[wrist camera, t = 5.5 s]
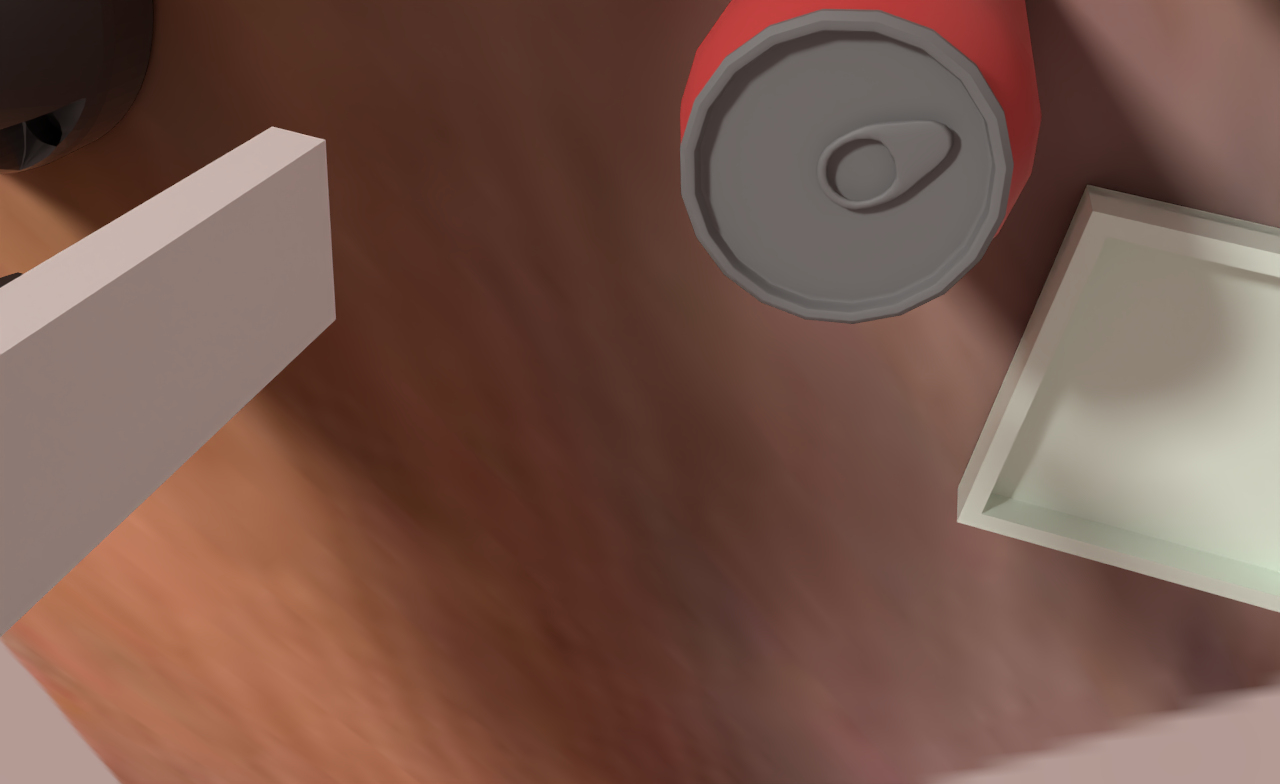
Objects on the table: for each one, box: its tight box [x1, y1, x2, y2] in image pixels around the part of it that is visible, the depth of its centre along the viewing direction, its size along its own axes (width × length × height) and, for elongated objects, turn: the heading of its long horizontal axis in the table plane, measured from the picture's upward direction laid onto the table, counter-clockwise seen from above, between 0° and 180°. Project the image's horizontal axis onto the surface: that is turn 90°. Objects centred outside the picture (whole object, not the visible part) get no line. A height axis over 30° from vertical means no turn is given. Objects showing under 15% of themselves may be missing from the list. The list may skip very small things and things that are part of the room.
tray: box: [957, 185, 1280, 612], centre depth 29 cm, size 11×11×2 cm
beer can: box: [680, 0, 1042, 324], centre depth 22 cm, size 7×7×12 cm
